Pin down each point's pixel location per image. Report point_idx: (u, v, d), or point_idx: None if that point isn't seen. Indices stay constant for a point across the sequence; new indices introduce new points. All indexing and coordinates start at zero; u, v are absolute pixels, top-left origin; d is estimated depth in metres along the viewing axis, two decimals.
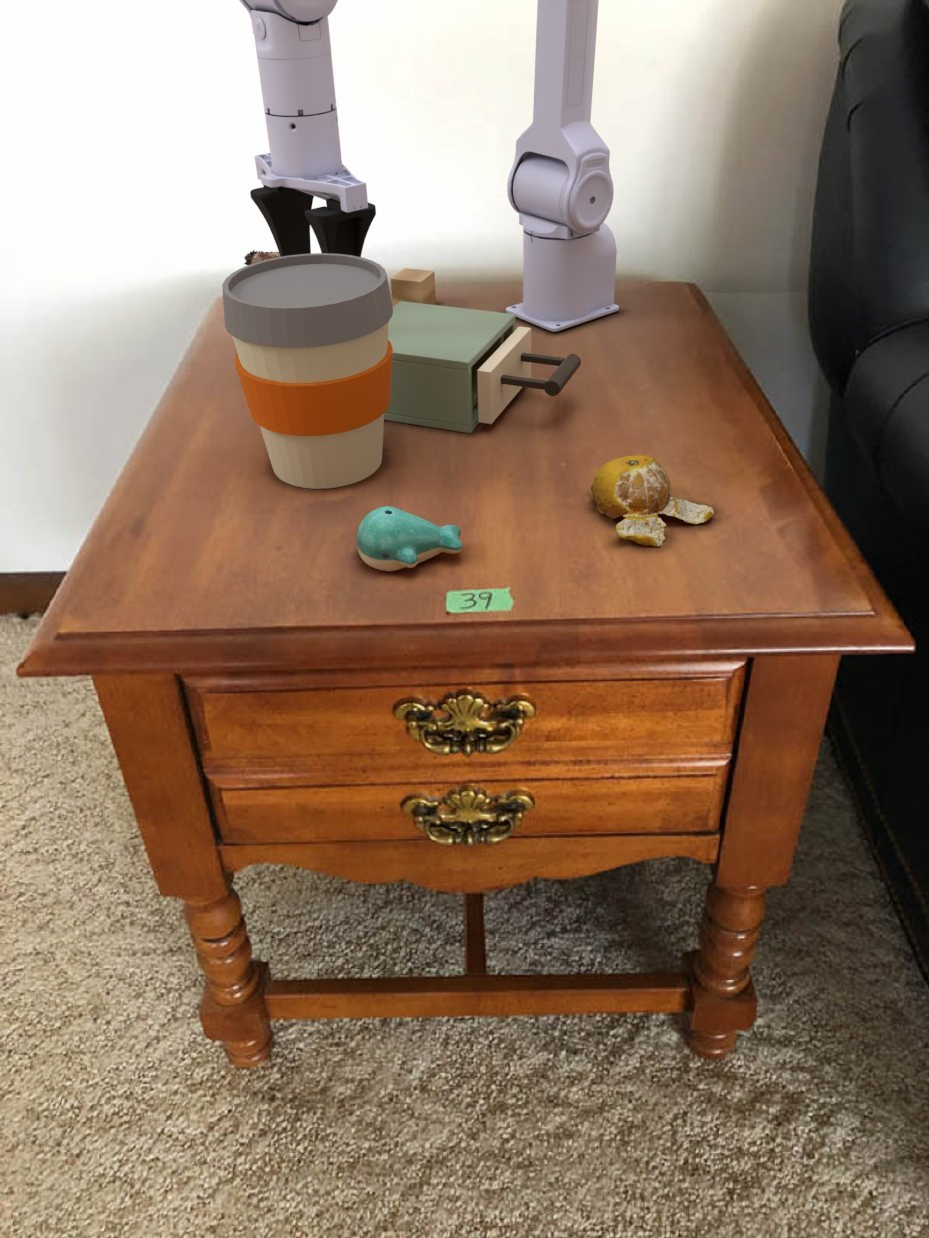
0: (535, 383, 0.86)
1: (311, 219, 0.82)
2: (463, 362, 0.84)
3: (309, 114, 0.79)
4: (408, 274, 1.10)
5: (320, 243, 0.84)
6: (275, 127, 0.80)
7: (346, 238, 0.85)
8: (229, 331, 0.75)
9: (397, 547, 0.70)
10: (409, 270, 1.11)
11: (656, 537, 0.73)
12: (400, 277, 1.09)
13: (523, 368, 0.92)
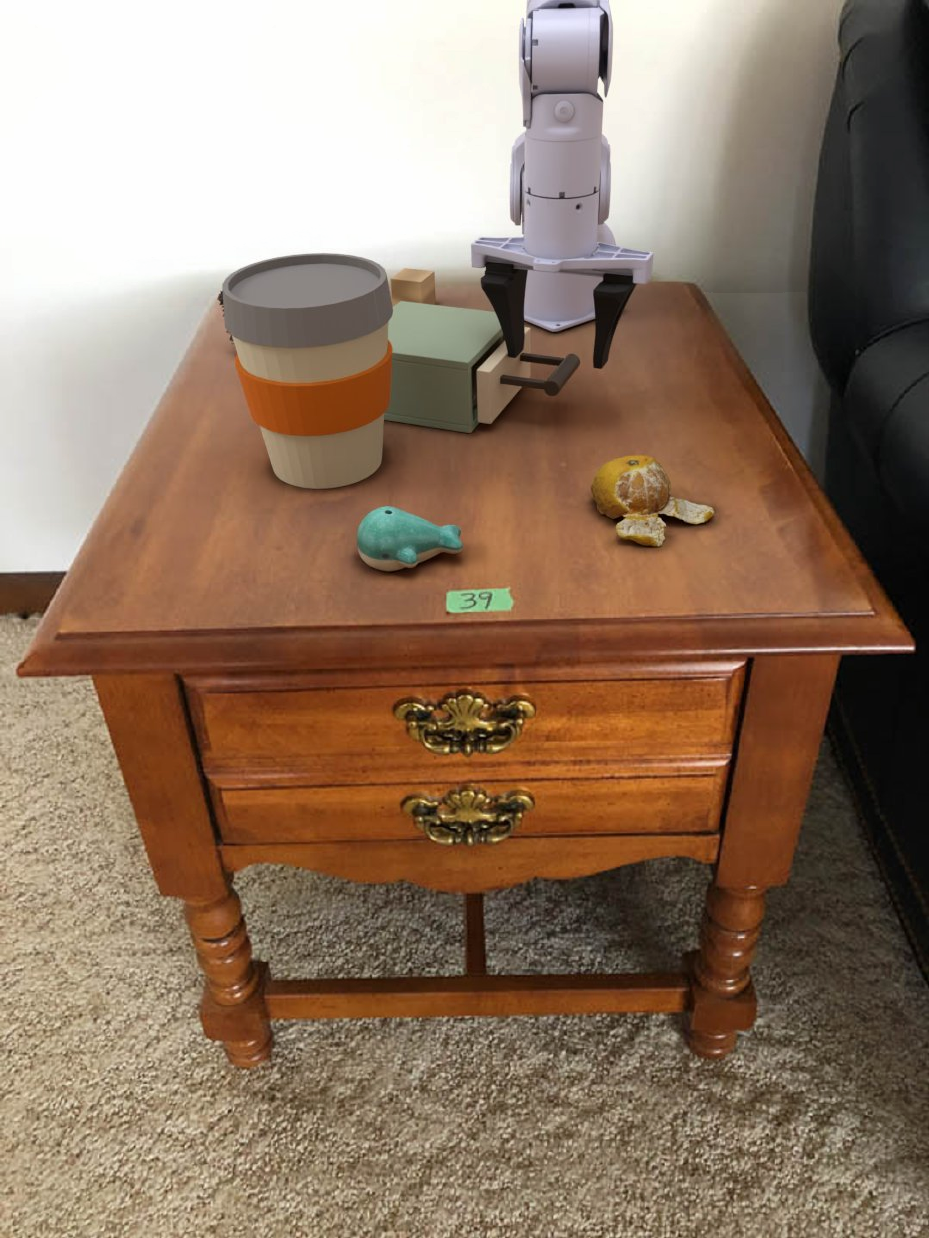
0: (535, 383, 0.86)
1: (603, 297, 0.79)
2: (463, 362, 0.84)
3: (593, 192, 0.77)
4: (408, 274, 1.10)
5: (599, 320, 0.81)
6: (558, 210, 0.77)
7: None
8: (229, 331, 0.75)
9: (397, 547, 0.70)
10: (409, 270, 1.11)
11: (656, 537, 0.73)
12: (400, 277, 1.09)
13: (522, 368, 0.92)
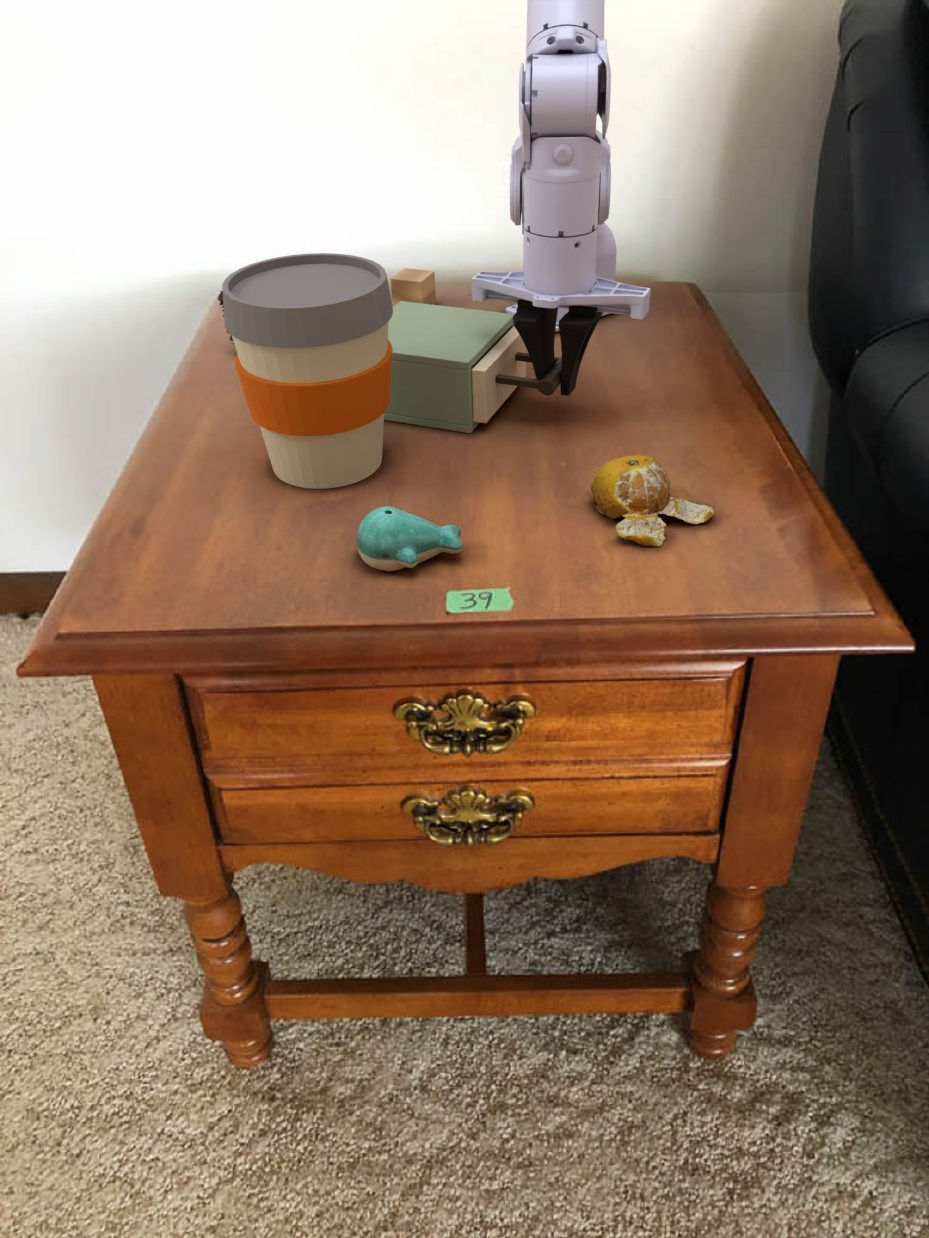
0: (530, 382, 0.86)
1: (568, 328, 0.82)
2: (463, 362, 0.84)
3: (591, 231, 0.79)
4: (408, 274, 1.10)
5: (565, 349, 0.84)
6: (557, 248, 0.79)
7: None
8: (229, 331, 0.75)
9: (397, 547, 0.70)
10: (409, 270, 1.11)
11: (656, 537, 0.73)
12: (400, 277, 1.09)
13: (518, 368, 0.92)
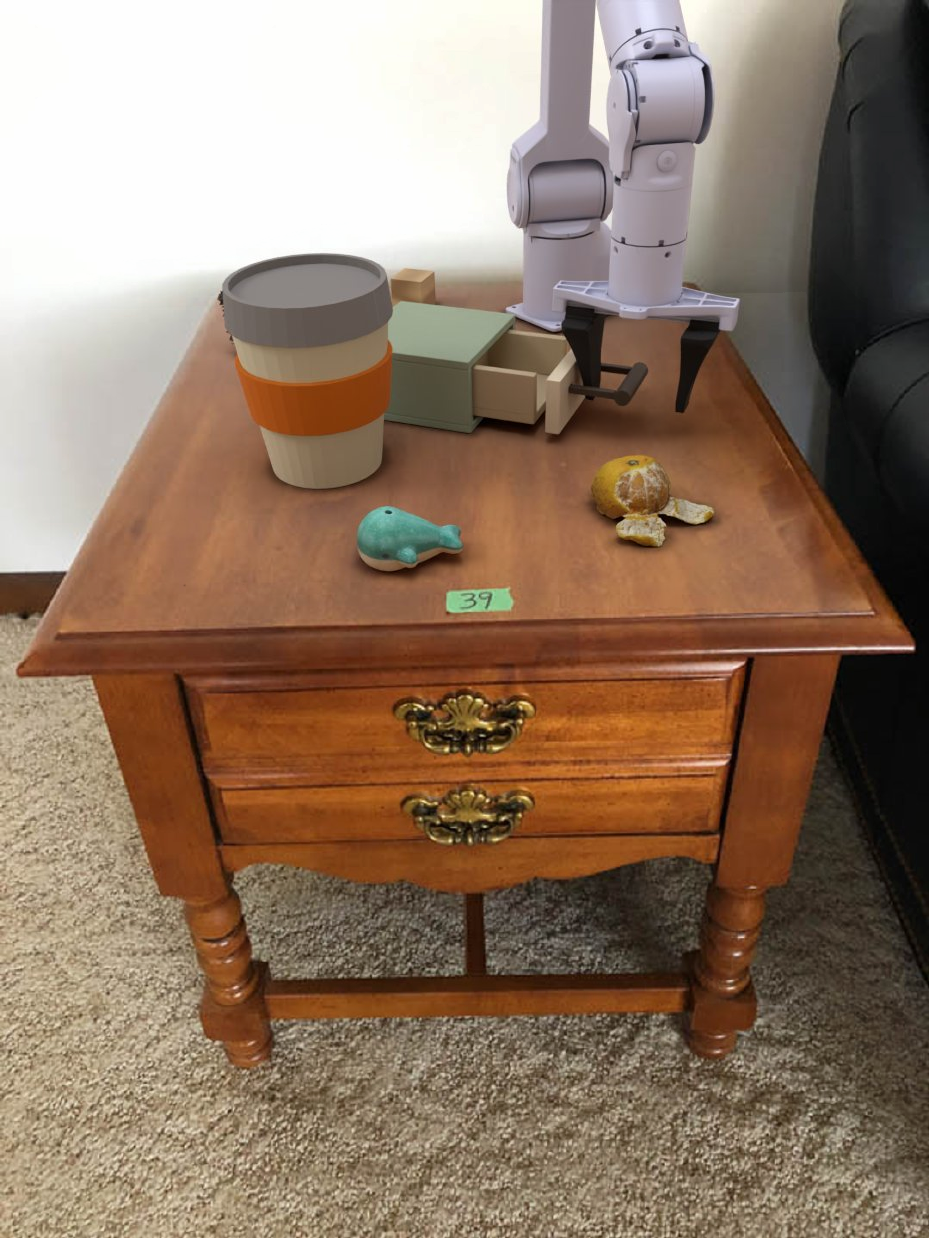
0: (605, 393, 0.84)
1: (691, 344, 0.79)
2: (463, 362, 0.84)
3: (682, 240, 0.77)
4: (408, 274, 1.10)
5: (684, 366, 0.81)
6: (647, 258, 0.76)
7: None
8: (229, 331, 0.75)
9: (397, 547, 0.70)
10: (409, 270, 1.11)
11: (656, 537, 0.73)
12: (400, 277, 1.09)
13: None
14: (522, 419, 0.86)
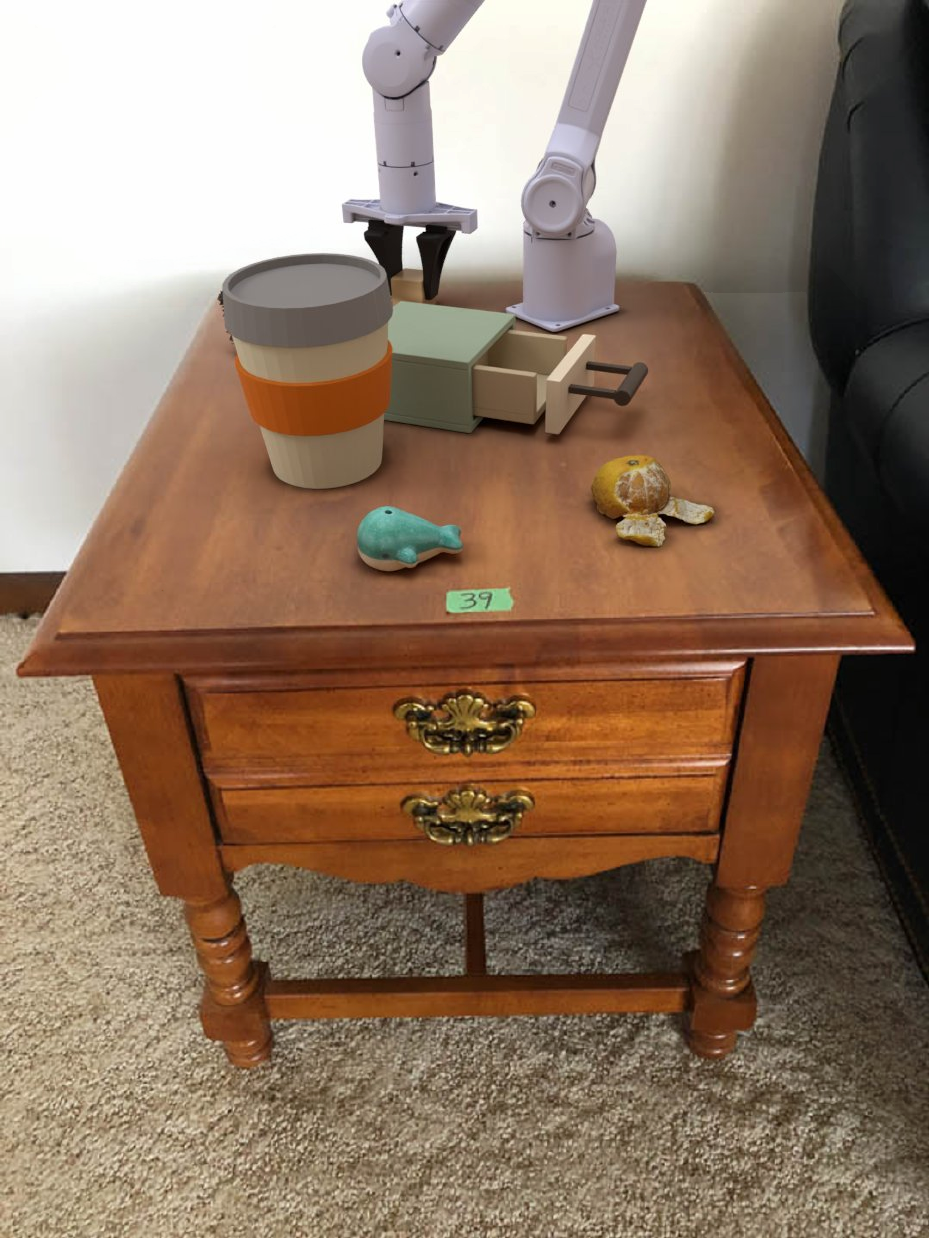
0: (605, 393, 0.84)
1: (424, 242, 1.04)
2: (463, 362, 0.84)
3: (427, 163, 1.02)
4: (409, 274, 1.10)
5: (424, 260, 1.07)
6: (400, 176, 1.01)
7: None
8: (229, 331, 0.75)
9: (397, 547, 0.70)
10: (409, 270, 1.11)
11: (656, 537, 0.73)
12: (400, 277, 1.09)
13: (587, 377, 0.90)
14: (522, 419, 0.86)
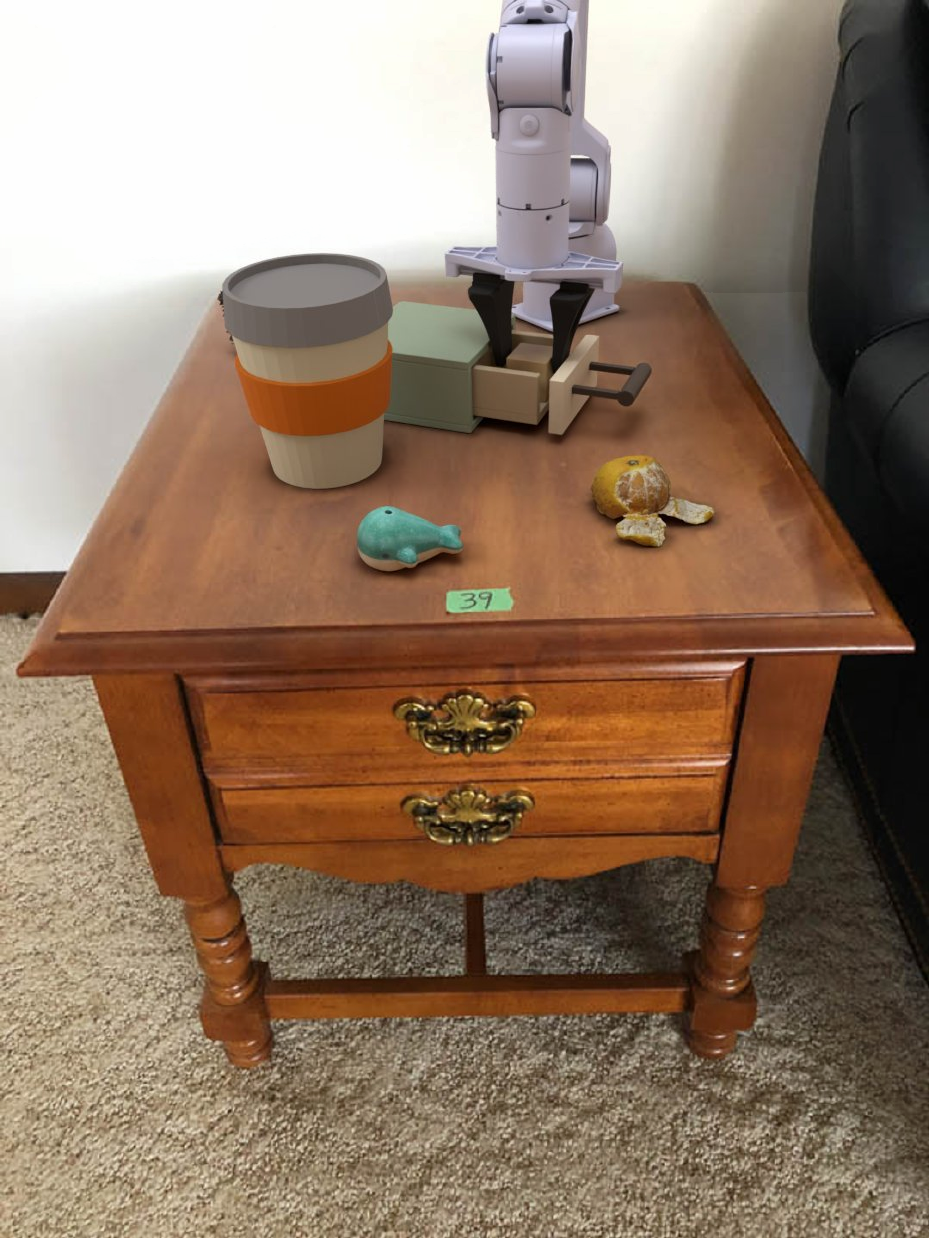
0: (608, 393, 0.84)
1: (559, 304, 0.81)
2: (463, 362, 0.84)
3: (562, 204, 0.78)
4: (528, 351, 0.87)
5: (556, 326, 0.83)
6: (528, 221, 0.78)
7: None
8: (229, 331, 0.75)
9: (397, 547, 0.70)
10: (527, 346, 0.88)
11: (656, 537, 0.73)
12: (518, 356, 0.87)
13: (591, 377, 0.90)
14: (525, 420, 0.86)
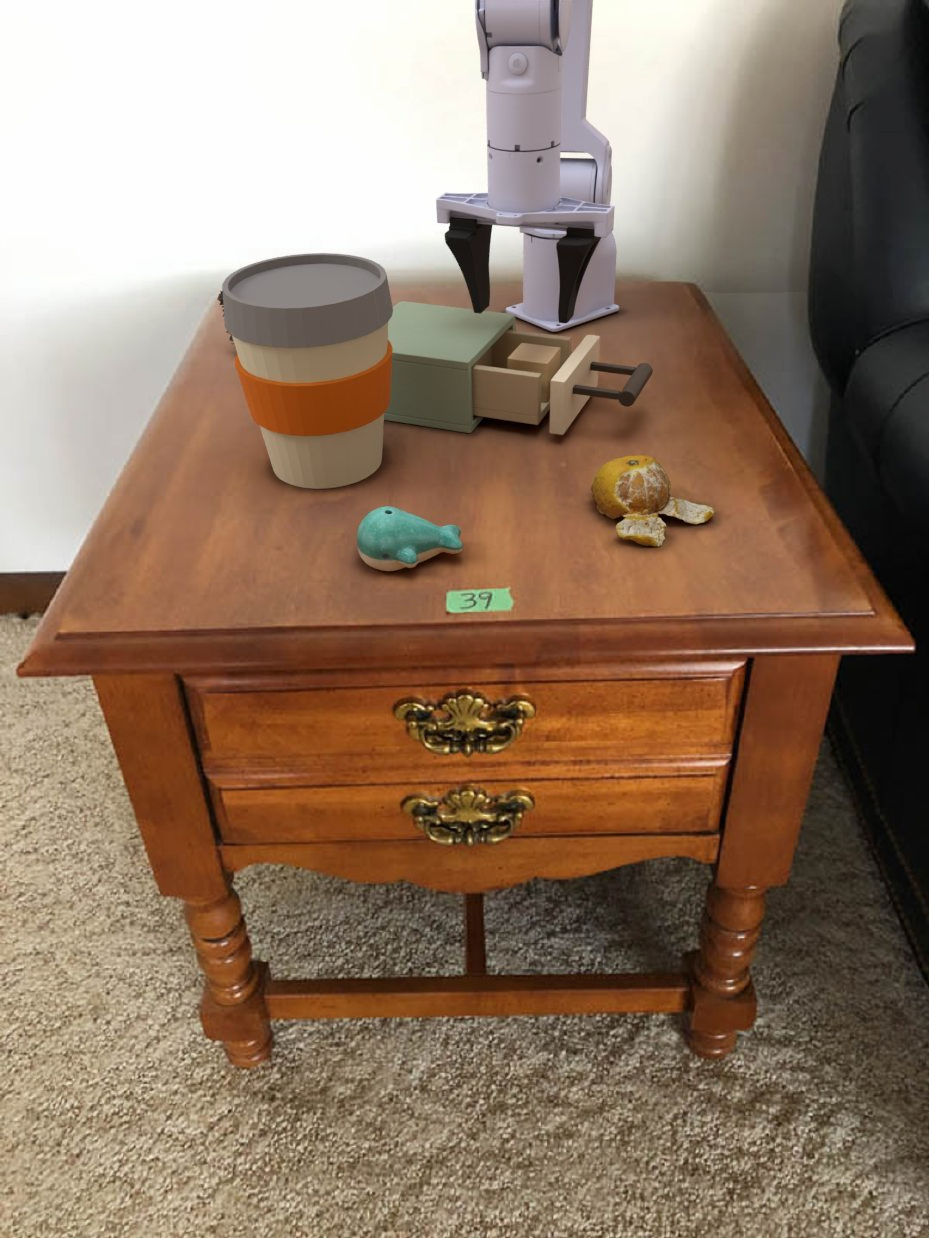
0: (609, 393, 0.84)
1: (566, 250, 0.81)
2: (463, 362, 0.84)
3: (553, 146, 0.78)
4: (529, 351, 0.87)
5: (563, 273, 0.83)
6: (519, 163, 0.78)
7: None
8: (229, 331, 0.75)
9: (397, 547, 0.70)
10: (528, 346, 0.88)
11: (656, 537, 0.73)
12: (519, 356, 0.87)
13: (591, 377, 0.90)
14: (526, 420, 0.86)
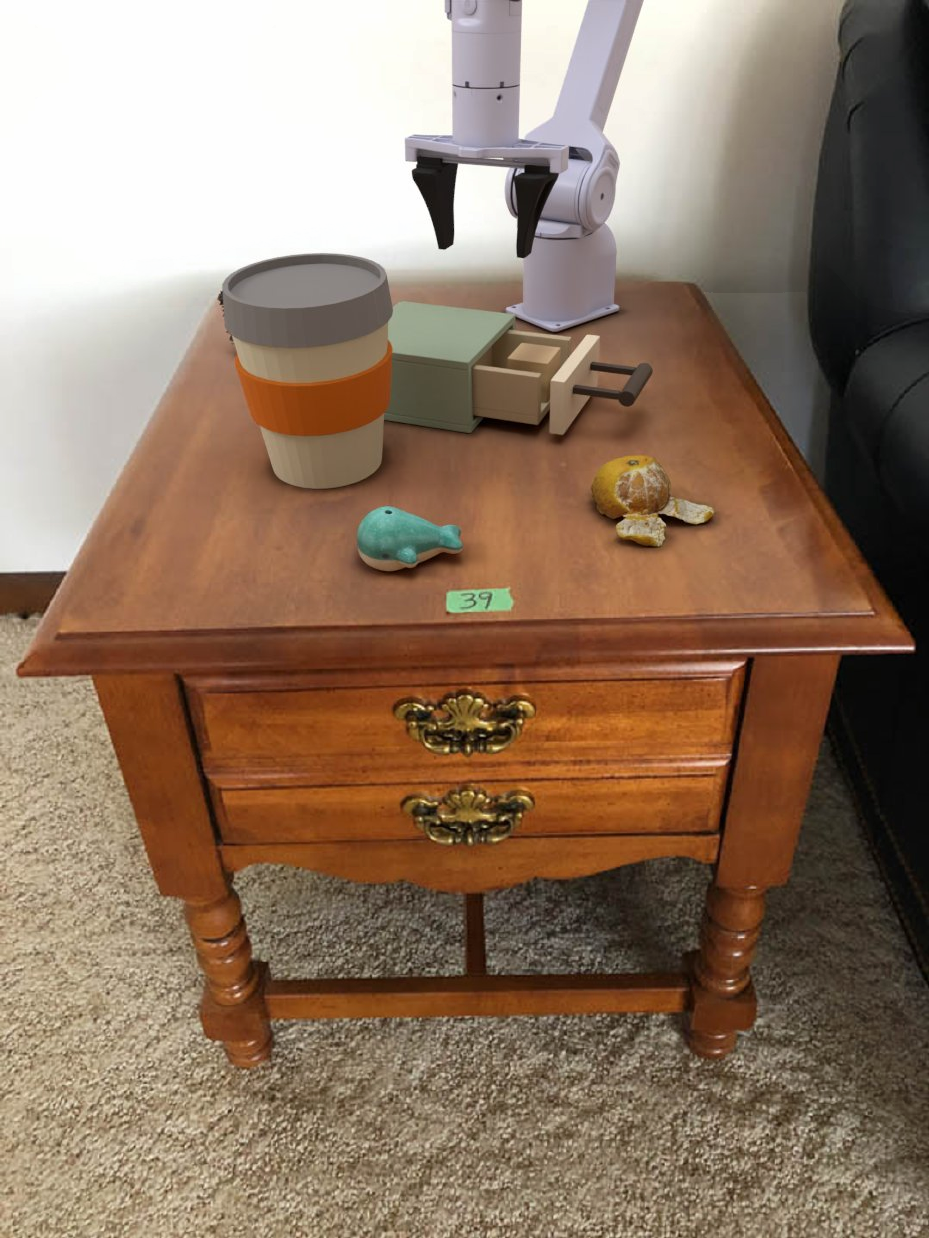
0: (609, 393, 0.84)
1: (523, 184, 0.87)
2: (463, 362, 0.84)
3: (513, 85, 0.85)
4: (529, 351, 0.87)
5: (520, 208, 0.89)
6: (480, 100, 0.84)
7: None
8: (229, 331, 0.75)
9: (397, 547, 0.70)
10: (528, 346, 0.88)
11: (656, 537, 0.73)
12: (519, 356, 0.87)
13: (591, 377, 0.90)
14: (526, 420, 0.86)
